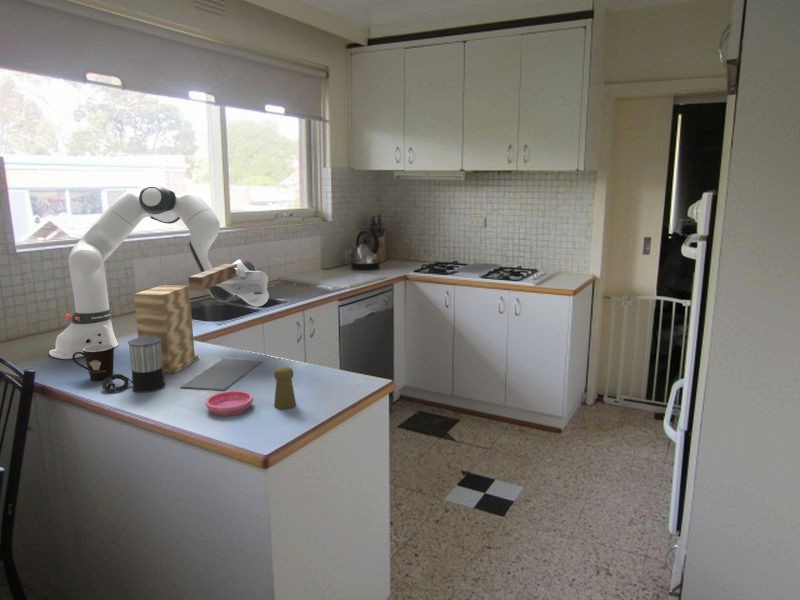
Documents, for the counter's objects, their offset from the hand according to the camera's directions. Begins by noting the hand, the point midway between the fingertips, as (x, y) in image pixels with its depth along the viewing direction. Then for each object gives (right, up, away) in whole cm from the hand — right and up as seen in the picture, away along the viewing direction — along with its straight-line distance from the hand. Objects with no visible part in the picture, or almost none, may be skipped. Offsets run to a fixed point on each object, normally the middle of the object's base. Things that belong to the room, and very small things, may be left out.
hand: (227, 270), depth 186 cm
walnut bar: (-1, -4, -8) cm, 9 cm away
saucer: (+10, -40, -29) cm, 51 cm away
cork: (+24, -39, -27) cm, 54 cm away
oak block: (-22, -32, +7) cm, 39 cm away
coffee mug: (-40, -35, -5) cm, 53 cm away
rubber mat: (0, -34, -2) cm, 34 cm away
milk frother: (-24, -37, -14) cm, 46 cm away
